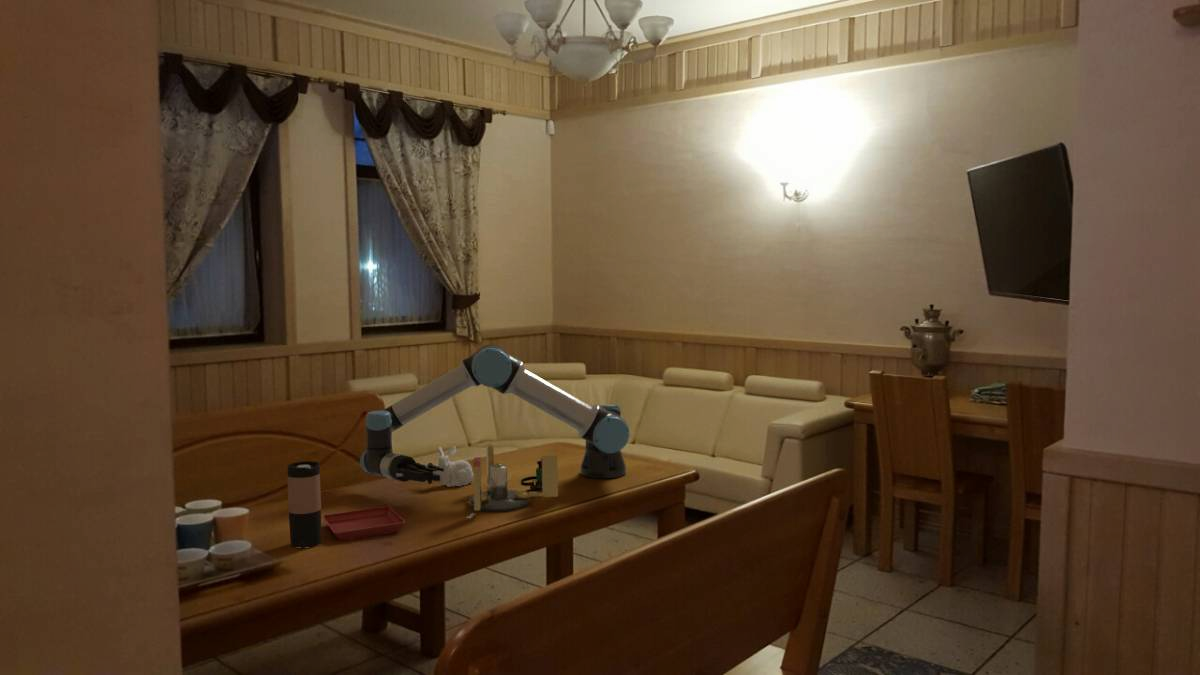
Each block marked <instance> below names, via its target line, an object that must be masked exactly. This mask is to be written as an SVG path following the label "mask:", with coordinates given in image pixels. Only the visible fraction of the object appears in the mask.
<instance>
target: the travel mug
mask: <svg viewBox="0 0 1200 675" xmlns="http://www.w3.org/2000/svg"><path fill="white" fill-rule="evenodd" d="M320 474H321V473H320V463H319V462H317V461H309V460H307V461H297V462H291V463H289V464H287V499H288V500H287V503H288V504H287V506H288V508H287V509H288V522H289V523H288V524H289V536H290V537H289V539H290V546H291V547H292V546H293V547H301V548H300V549H306V548H305V547H311V548H313V547H312V546H315V547H317V546H319V545H321V543H322V502H321V501H322V500H321V496H322V495H321V477H320V476H321V475H320ZM318 544H319V545H318ZM316 545H317V546H316ZM293 547H292V548H293Z"/></svg>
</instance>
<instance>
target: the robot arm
mask: <svg viewBox="0 0 1200 675" xmlns="http://www.w3.org/2000/svg"><path fill="white" fill-rule="evenodd" d="M481 385H482V386H485V387H488V388H492V389H493V390H495V391H497V392H499V393H500V394H502V395H506V394H513V395H514V396H517V398H519V399H521V400H523V401H525V402H526V403H529V404H531V405H532V406H534V407H536V408H537V409H540V410H541V411H543V412H544V413H547V414H548V415H550V416H551V417H554V418H555V419H557V420H559V421H561V422H562V423H565V425H568V426H570V427H571V428H573V429H575V430H577V434H578V436H579V438H581V439H583V440H585V451H584V454H583V459H582V461H581V465H580V475H581V474H582V475H581V476H583V477H585V476H586V477H585V478H590V477H591V478H590V479H614V478H615V479H616V478H620V477H624V476H625V475H626V474H627V466H626V463H625V459H624V456H623V453H622V451H621V450H622V449H624V448H625V447H626V445H627V444H628V441H629V440H630V439H629V438H630V429H629V426H628V423H627V422H626V419H623V418H622V417H621V414H622V410H621V406H620V405H619V404H593V405H590V404H588V403H586V402H585V401H583V400H581V399H580V398H578V397H576V396H574V395H572V394H570V393H568V392H567V391H565V390H563V389H561V388H560V387H558V386H556V385H554V384H553V383H551V382H549V381H547V380H546V379H544V378H542V377H540V376H538V375H537V374H535V373H534V372H531V371H530V370H528V369H526V368H525V365H524V363H523V361H522V360H521V359H518V358H517V357H515V356H513V355H511V354H510V353H508V352H507V351H506V350H505V349H504V348H502V347H501V346H499V345H496V344H485V345H483V346H481V347H480V348H478V349H477V350H476V351H475V352H473V353H471V355H469V356H468V357H466V358H465V359H463V360H461V362H460V365H459V366H457V367H454V368H453V369H451V370H450V371H448V372H446V373H445V374H443V375H441V376H439V377H438V378H436V379H434V380H433V381H431V382H429V383H428V384H426V385H423V386H422V387H421V388H418V389H417V390H415V391H413V392H412V393H410V394H408V395H407V396H404V397H403V398H401V399H400V400H398V401H396V402H394V403H393V404H391V405H390V406H388V407H386V408H384V409H381V410H372V411H369V412H367V413H366V415H365V424H364V425H365V435H366V437H365V439H366V449H365V450H364V451H363V452H362V454H361V457H360V459H359V465H360V468H361V469H362V470H363V471H364V472H366V473H368V474H370V475H373V476H378V477H379V476H380V477H384V478H387V479H391V481H399V482H402V483H403V482H409V481H415V482H421V483H425V482H426V481H427V483H428V484H429V485H431V484H432V483H433V482H436V483H440V484H442V485H443V484H447V485H448V484H452V483H453V474H452V473H447V472H444V469H443V468H440V467H438V465H435V464H433V463H431V462H428V464H426V465H425V464H421V463H419V462H416V460H415V459H414V458H413V457H411V456H409V455H406V454H405V455H404V454H400V453H395V452H393V441H392V440H393V438H392V437H393V434H392V433H393V432H395V431H397V430H398V429H400V428H402V427H403V426H405V425H407V424H409V423H410V422H412V421H413V420H415V419H417V418H419V417H420V416H422V415H424V414H426V413H427V412H429V411H431V410H432V409H434V408H436V407H437V406H439V405H441V404H443V403H444V402H446V401H448V400H450V399H451V398H453V397H456V396H457V395H459V394H460V393H462V392H464V391H467V389H469V388H472V387H475V388H477V387H478V386H481Z"/></svg>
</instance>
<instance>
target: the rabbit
mask: <svg viewBox="0 0 1200 675" xmlns="http://www.w3.org/2000/svg"><path fill="white" fill-rule="evenodd" d="M437 450H438V453H439V457H438V462H437V466H438V467H440V468H443V469H444V472H447V473H452V474H453V483H452V484H448V485H447V484H443V483H442V486H444V485H446V486H447V488H451V486H452V487H455V486H458V487H463V485H464V486H467V485H468V484H470V483H472V482H474V472H473V467H472V465H471V464H470V463H469V462H468V461H466V460H463V459H459V460H455V461H450V460H449V458H450V457H452V456H453V455H455V454H456V453H457V446H455V445H453V446H452V447H451V448H450V449H449V450H448V451H447V453H446V454H445V453H444V451H443V448H442V447H441V446H439V447H438V448H437ZM446 486H445V487H446Z"/></svg>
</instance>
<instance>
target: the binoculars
mask: <svg viewBox="0 0 1200 675" xmlns="http://www.w3.org/2000/svg"><path fill="white" fill-rule="evenodd" d="M536 464H537V466H538V467H537V468H535V473H536V474H535V476H534V475H533V476H527V477H524V478H522V479H520V485H521V486H525V487H529V489H525V491H528V492H538V491H542V457H541V458H540V460H538V461H536ZM527 481H532V482H527Z"/></svg>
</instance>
